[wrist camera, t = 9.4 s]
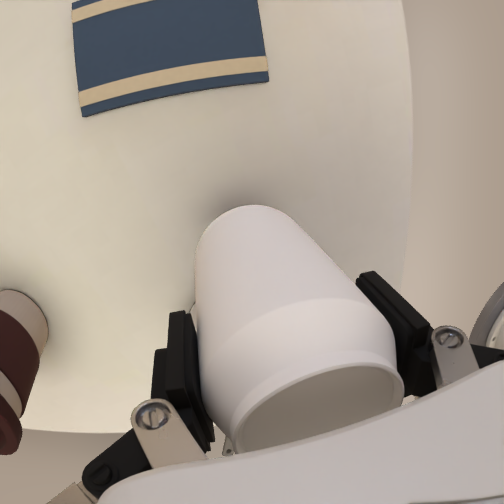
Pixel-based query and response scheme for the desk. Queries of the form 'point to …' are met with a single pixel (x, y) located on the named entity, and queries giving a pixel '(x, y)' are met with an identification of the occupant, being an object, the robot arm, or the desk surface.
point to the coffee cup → (17, 361)
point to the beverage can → (285, 335)
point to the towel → (163, 49)
